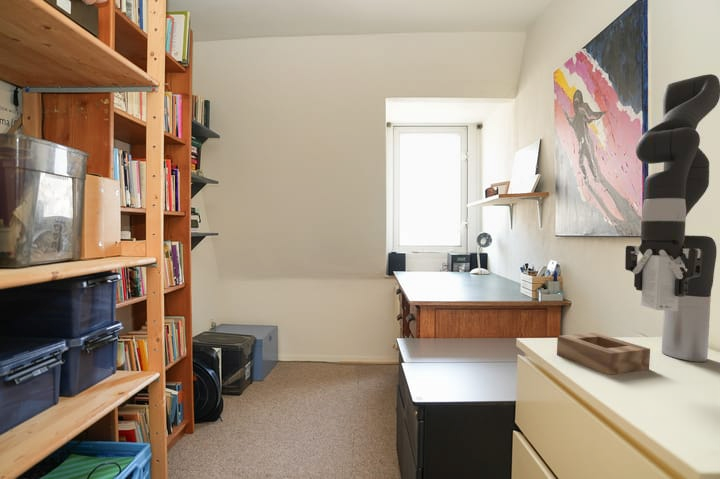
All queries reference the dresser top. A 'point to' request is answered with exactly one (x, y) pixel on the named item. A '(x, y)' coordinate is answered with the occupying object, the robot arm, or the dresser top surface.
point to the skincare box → (659, 284)
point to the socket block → (603, 353)
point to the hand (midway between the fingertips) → (659, 293)
